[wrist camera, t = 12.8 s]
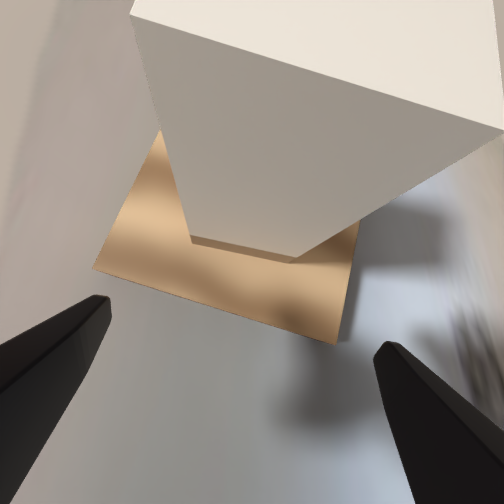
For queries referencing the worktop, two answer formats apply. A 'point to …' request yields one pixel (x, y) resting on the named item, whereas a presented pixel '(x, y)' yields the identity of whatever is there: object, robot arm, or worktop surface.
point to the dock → (223, 262)
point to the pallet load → (313, 108)
